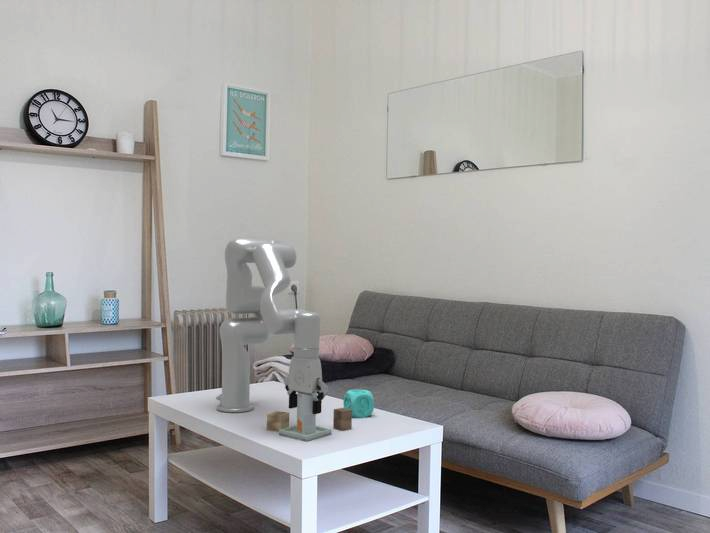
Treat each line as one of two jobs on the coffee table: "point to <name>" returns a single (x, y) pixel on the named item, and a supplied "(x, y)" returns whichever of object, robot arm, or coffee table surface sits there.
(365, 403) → the decorative dice
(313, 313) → the robot arm
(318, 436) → the tray
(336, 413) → the walnut block
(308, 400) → the skincare box
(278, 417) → the oak cube
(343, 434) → the coffee table surface
